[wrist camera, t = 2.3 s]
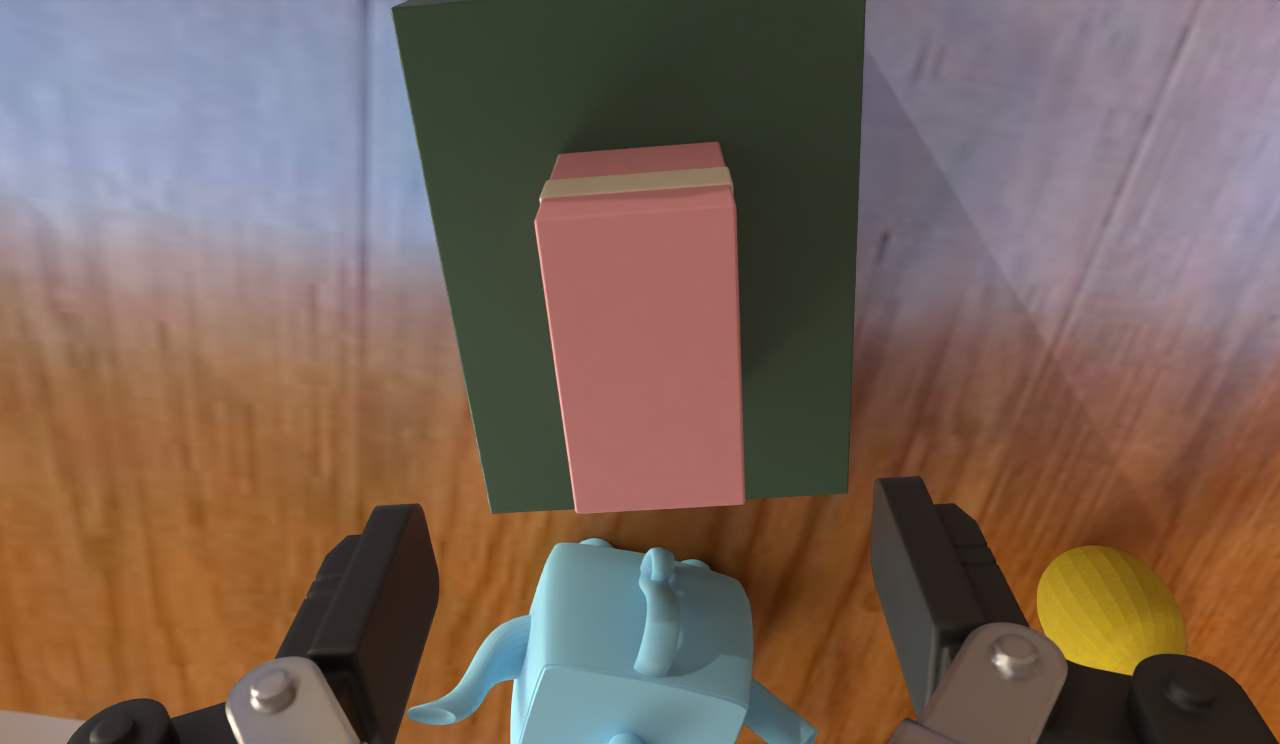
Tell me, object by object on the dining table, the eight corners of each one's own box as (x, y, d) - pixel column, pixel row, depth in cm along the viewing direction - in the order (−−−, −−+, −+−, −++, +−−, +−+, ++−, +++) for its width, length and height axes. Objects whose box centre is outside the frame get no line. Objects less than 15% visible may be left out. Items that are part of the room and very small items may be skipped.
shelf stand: (527, 374, 39) (490, 514, 30) (463, -25, 31) (389, 7, 23) (803, 355, 38) (848, 494, 29) (806, -55, 31) (867, -34, 22)
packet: (587, 407, 28) (574, 517, 23) (555, 151, 24) (530, 217, 19) (731, 398, 28) (747, 507, 23) (721, 138, 24) (739, 202, 19)
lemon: (1063, 494, 42) (1147, 617, 34) (1154, 539, 43) (1253, 666, 36) (989, 575, 44) (1053, 705, 37) (1077, 615, 45) (1155, 749, 38)
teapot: (839, 543, 43) (888, 712, 34) (749, 735, 49) (771, 919, 41) (472, 462, 41) (422, 618, 32) (429, 673, 48) (377, 851, 39)
